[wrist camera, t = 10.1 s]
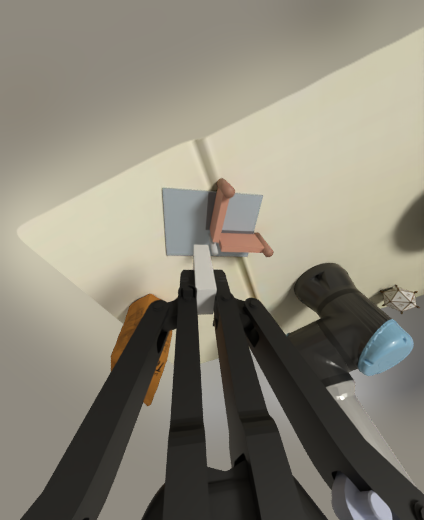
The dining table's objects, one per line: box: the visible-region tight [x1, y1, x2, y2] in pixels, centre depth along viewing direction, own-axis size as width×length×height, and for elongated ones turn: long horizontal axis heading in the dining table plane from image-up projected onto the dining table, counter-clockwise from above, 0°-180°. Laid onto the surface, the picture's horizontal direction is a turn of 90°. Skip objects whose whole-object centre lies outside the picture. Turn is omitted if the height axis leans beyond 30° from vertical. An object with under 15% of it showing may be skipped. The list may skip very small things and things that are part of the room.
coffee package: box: [111, 294, 172, 406], centre depth 41 cm, size 10×12×22 cm
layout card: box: [163, 188, 263, 257], centre depth 37 cm, size 15×20×1 cm
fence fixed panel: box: [208, 233, 273, 257], centre depth 36 cm, size 2×12×8 cm, turn 84°
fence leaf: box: [210, 178, 235, 243], centre depth 31 cm, size 2×10×7 cm, turn 169°
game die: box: [380, 285, 420, 314], centre depth 55 cm, size 9×8×10 cm
